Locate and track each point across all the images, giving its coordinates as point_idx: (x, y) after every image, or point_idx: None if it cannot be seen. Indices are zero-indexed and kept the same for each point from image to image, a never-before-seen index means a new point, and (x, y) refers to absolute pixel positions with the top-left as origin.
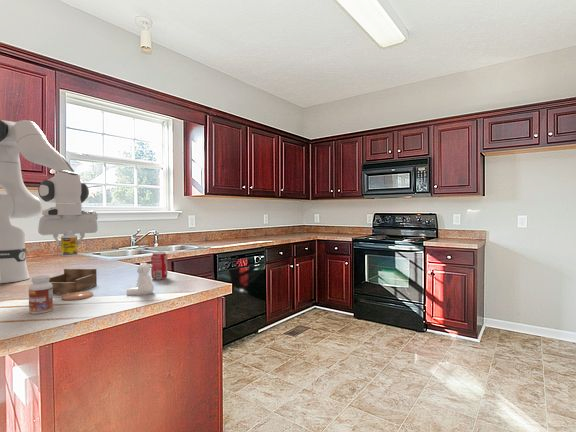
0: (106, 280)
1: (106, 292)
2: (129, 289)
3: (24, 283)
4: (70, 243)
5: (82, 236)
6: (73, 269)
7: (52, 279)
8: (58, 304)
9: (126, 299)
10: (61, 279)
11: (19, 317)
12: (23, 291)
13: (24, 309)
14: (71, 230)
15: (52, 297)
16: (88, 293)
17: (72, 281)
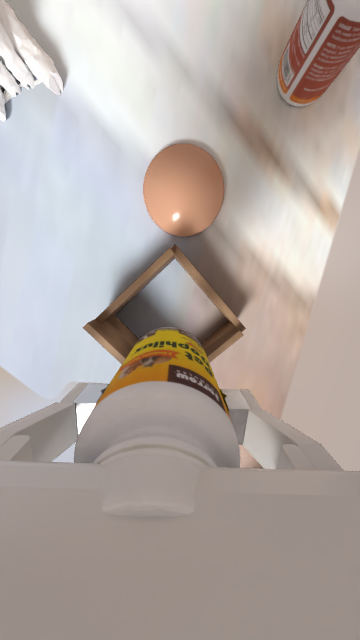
0: (70, 362)
1: (106, 189)
2: (43, 59)
3: None
4: (168, 353)
5: (19, 429)
6: None
7: (212, 349)
8: (246, 133)
9: (79, 12)
10: None
11: None
12: (258, 371)
13: (319, 146)
14: (117, 527)
15: (303, 10)
16: (156, 181)
17: None
